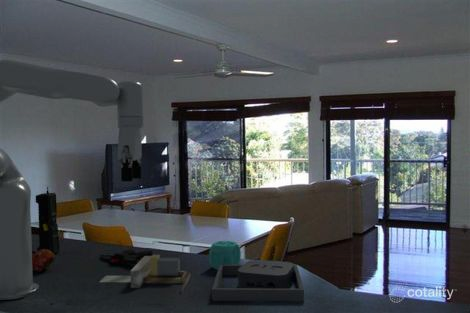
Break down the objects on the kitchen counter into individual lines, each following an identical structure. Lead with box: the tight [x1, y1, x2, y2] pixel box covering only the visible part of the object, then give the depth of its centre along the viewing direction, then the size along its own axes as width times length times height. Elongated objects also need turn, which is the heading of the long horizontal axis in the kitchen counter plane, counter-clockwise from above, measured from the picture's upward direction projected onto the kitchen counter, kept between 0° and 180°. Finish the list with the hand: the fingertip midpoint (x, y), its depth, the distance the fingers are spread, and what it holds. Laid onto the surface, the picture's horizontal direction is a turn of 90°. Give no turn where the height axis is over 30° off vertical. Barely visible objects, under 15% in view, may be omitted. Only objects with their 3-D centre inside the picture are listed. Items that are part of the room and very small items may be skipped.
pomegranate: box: [32, 249, 56, 273], centre depth 154 cm, size 7×7×10 cm
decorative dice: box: [208, 240, 242, 271], centre depth 156 cm, size 8×8×8 cm
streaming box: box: [237, 259, 295, 289], centre depth 138 cm, size 14×14×5 cm
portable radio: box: [35, 186, 60, 255], centre depth 175 cm, size 8×6×25 cm
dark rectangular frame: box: [211, 264, 305, 302], centre depth 135 cm, size 24×24×3 cm
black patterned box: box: [98, 249, 153, 267], centre depth 161 cm, size 5×20×15 cm
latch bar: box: [150, 254, 181, 278], centre depth 139 cm, size 8×4×7 cm, turn 86°
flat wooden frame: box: [98, 256, 191, 294], centre depth 139 cm, size 26×16×6 cm, turn 87°
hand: (131, 179), depth 143 cm, fingers open, 9 cm apart
